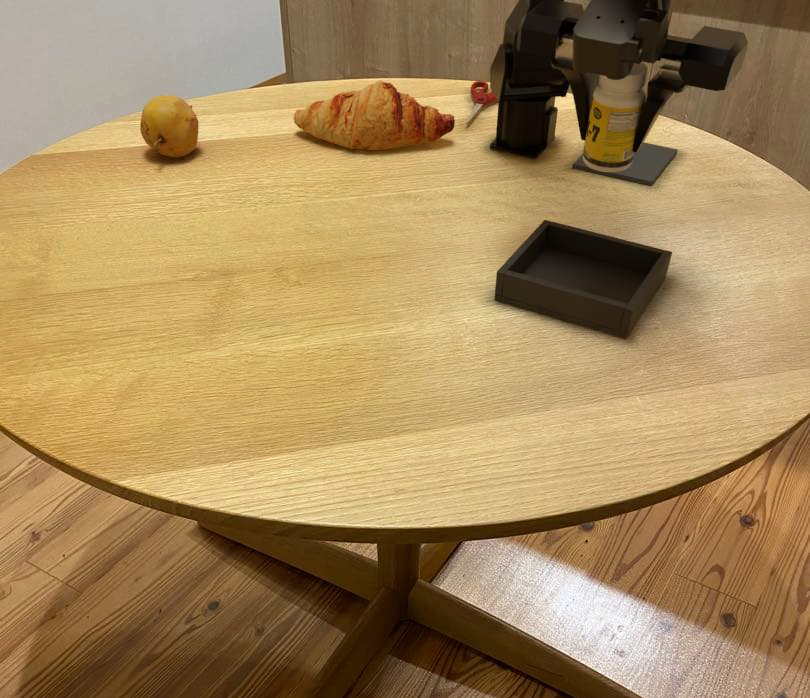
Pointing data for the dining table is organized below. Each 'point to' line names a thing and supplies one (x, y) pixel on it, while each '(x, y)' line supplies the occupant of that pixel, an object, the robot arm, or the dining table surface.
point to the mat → (639, 164)
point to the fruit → (169, 126)
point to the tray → (583, 277)
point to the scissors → (480, 97)
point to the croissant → (373, 119)
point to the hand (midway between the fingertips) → (609, 144)
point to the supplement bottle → (615, 121)
